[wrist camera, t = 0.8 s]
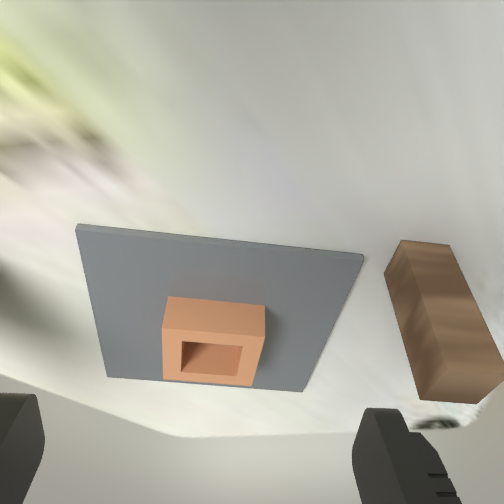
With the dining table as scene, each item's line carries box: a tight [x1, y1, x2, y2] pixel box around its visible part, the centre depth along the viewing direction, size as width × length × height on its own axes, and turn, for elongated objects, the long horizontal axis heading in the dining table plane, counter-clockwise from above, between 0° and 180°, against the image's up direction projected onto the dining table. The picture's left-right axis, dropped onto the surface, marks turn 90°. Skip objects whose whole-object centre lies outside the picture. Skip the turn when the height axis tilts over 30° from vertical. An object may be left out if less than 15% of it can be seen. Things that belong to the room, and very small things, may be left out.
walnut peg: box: [384, 240, 504, 404], centre depth 27 cm, size 4×4×10 cm
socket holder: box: [75, 224, 364, 392], centre depth 35 cm, size 20×20×4 cm
